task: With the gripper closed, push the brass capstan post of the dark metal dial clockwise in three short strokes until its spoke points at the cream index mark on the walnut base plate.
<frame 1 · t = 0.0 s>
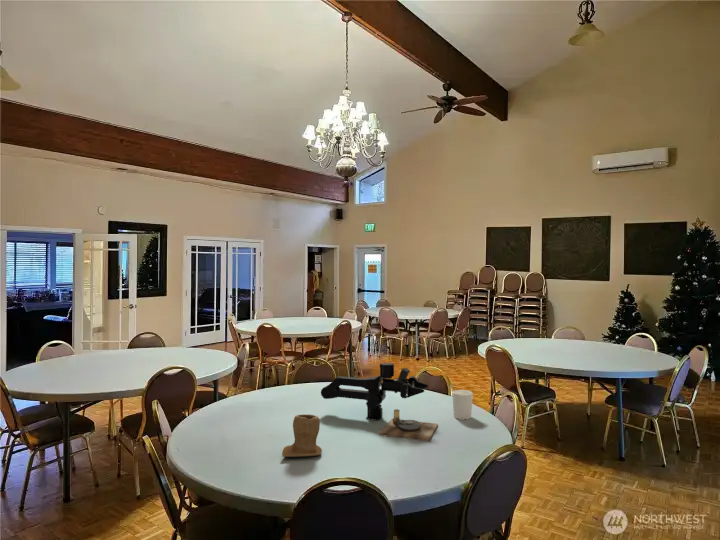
hand: (426, 388, 215), 17 cm above the table, tool horizontal, fingers open, 9 cm apart
base plate: (409, 430, 207), on the table
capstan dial: (405, 419, 208), point 4 cm above the table, hinge at 90.0°
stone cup: (302, 454, 180), on the table
candle holder: (462, 417, 225), on the table
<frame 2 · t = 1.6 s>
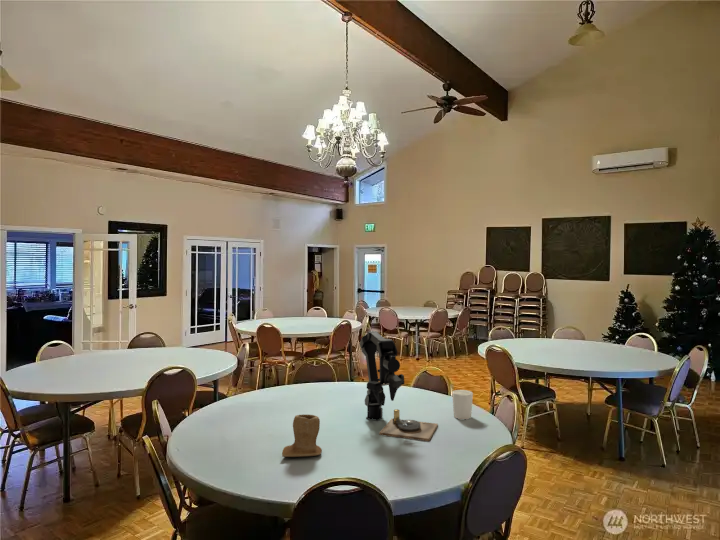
hand: (385, 402, 208), 12 cm above the table, tool pointing down, fingers open, 8 cm apart
nothing on the table moved.
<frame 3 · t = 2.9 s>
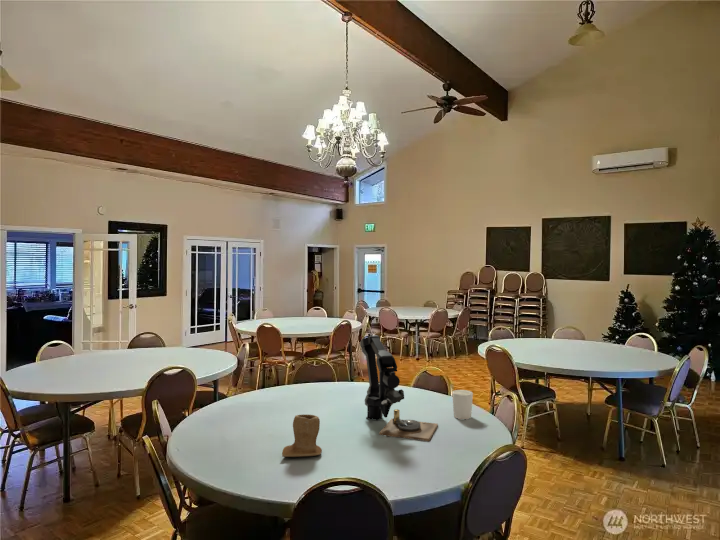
hand: (385, 417, 208), 5 cm above the table, tool pointing down, fingers closed
nothing on the table moved.
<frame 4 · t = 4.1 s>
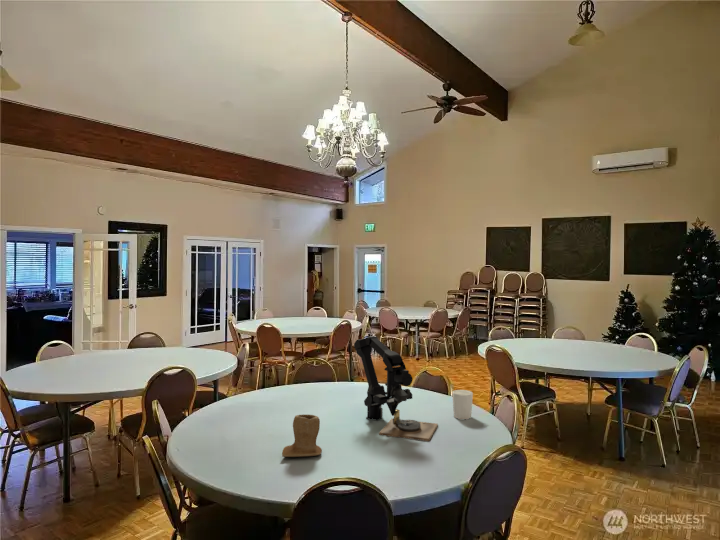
hand: (392, 415, 211), 5 cm above the table, tool pointing down, fingers closed
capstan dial: (405, 419, 208), point 4 cm above the table, hinge at 89.6°, touching gripper
everything else where it was.
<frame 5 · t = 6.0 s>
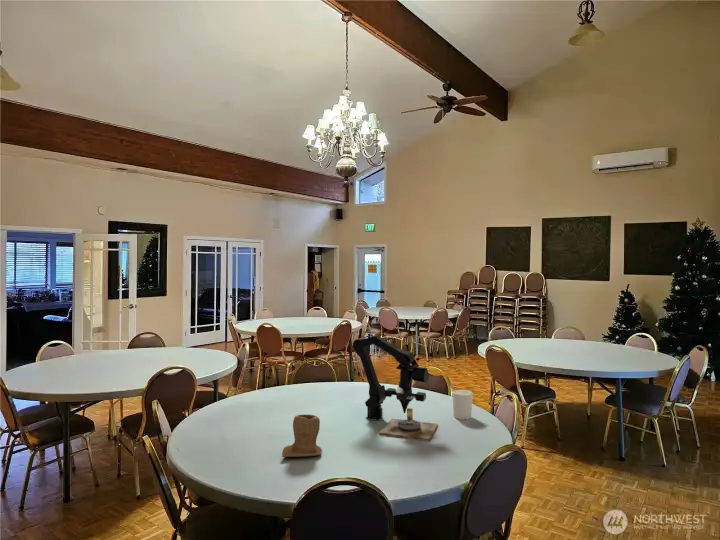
hand: (404, 412, 215), 5 cm above the table, tool pointing down, fingers closed
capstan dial: (409, 419, 209), point 4 cm above the table, hinge at 41.8°, touching gripper
everything else where it was.
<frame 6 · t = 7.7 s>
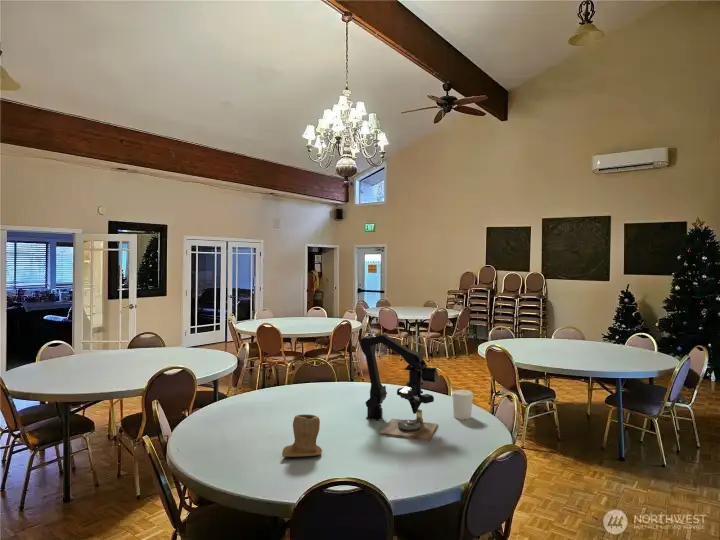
hand: (414, 413, 215), 5 cm above the table, tool pointing down, fingers closed
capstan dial: (412, 419, 208), point 4 cm above the table, hinge at 8.5°
everything else where it was.
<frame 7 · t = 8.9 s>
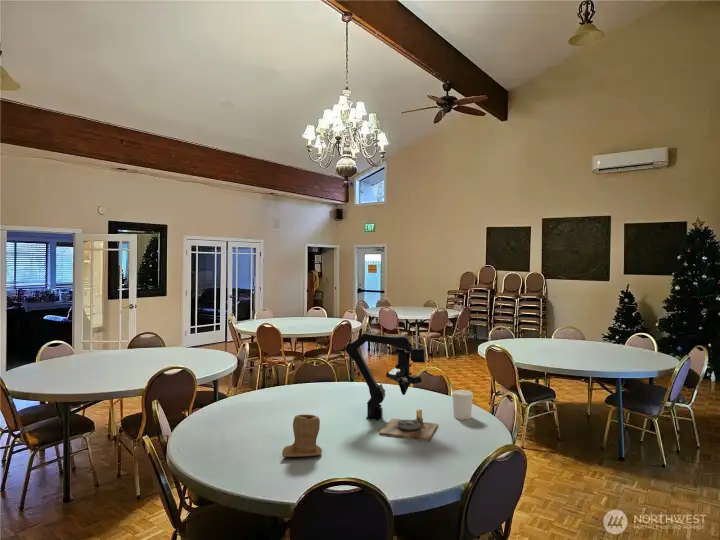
hand: (403, 394, 221), 12 cm above the table, tool pointing down, fingers closed
nothing on the table moved.
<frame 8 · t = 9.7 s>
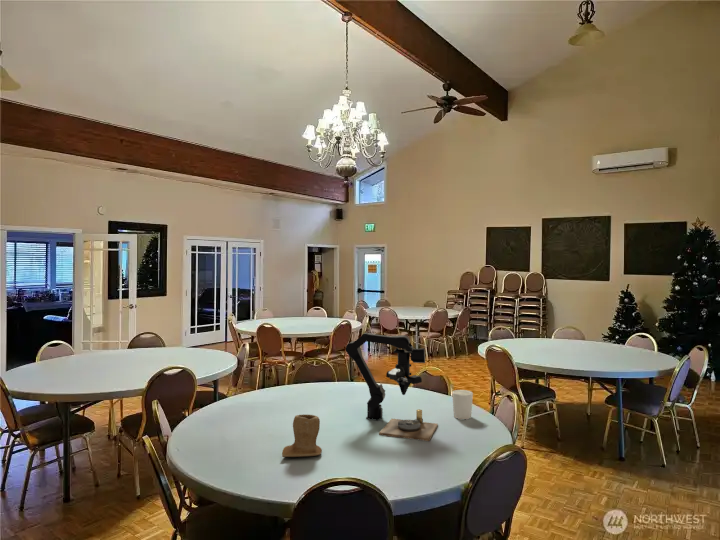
hand: (403, 394, 221), 12 cm above the table, tool pointing down, fingers closed
nothing on the table moved.
at the end: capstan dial at +9° (first picture: +90°) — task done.
